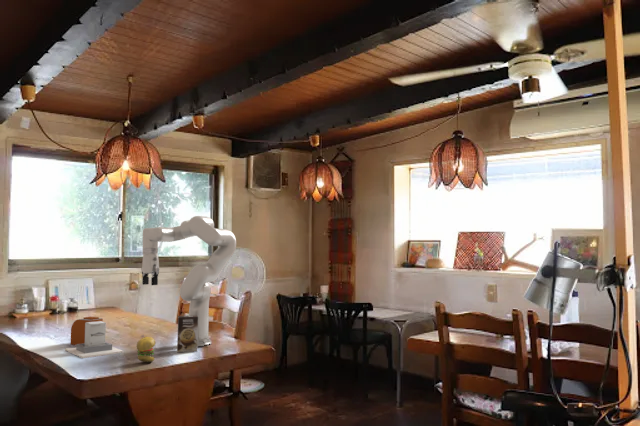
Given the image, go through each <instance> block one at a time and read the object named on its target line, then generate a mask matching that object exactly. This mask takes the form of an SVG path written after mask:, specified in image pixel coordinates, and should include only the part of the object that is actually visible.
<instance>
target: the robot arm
mask: <svg viewBox="0 0 640 426" xmlns="http://www.w3.org/2000/svg"><path fill="white" fill-rule="evenodd" d="M192 237H197V238H199V239H200V240H201V241H202V242H204V243H206V244H207V245H209V246H212V247H217V248H216V249H215V250H214V251H213V252H212V253H211V255H210V257H209V258H208V260H207V261H206V262H202V263H198V264H195V265H194V266H193V267H192V269H190V270H189V273H188V274H187V276H186V277H185V279H184V280H183V281H182V284H181V285H180V287H179V297H180V298H181V299H182V300H183V301H185V302H190V303H189V308H188V310H189V311H188V316H194V315H197V316H198V342H197V347H205V346H204V345H207V346H210V345H211V344H212V340H211V338H210V337H209V315H210V314H209V313H210V311H209V310H210V309H209V307H210V298H211V292H212V289H211V285H210V284H209V283H213V282H215V281H216V280H217V279H218V277H220V274H221V273H222V272H223V270H224V268H225V267H226V265H227V264H228V263H229V261H230V260H231V258H232V256H233V255H234V253H235V251H236V248H237V239H236V235H235V234H234V233H233V232H232V231H231V230H229V229H226V228H216V227H215V222H214V220H213V218H211V217H208V216H202V215H195V216H193V217H191V218H190V219H188V220H184V221H182V222H181V223H180V225H178V226H177V225H176V226H172V227H165V226H164V227H163V226H158V227H157V226H156V227H145V228H143V229H142V263H141V264H142V267H141V269H140V270H141V277H142V278H141V279H142V282H141V283H142V285H143V286H144V285H149V283H150V281H151V286H158V285H159V284H158V283H159V281H158V279H159V274H160V273H159V272H160V262H159V261H160V259H159V254H158V252H159V251H158V249H159V246H158V245H159V243H161V242H162V243H166V242H167V243H169V242H170V243H171V242H176V241H181V240H185V239H187V238H192ZM149 274H150V275H151V280H149V279H150V278H149ZM209 344H210V345H209Z"/></svg>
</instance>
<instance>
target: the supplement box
mask: <svg viewBox="0 0 640 426" xmlns="http://www.w3.org/2000/svg"><path fill="white" fill-rule="evenodd" d="M106 330H107V322H106V321H103V322H102V321H97V322H86V323H85V347H92V346H100V345H105V342H106V335H107V334H106V333H107V332H106Z"/></svg>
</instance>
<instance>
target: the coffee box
mask: <svg viewBox="0 0 640 426" xmlns="http://www.w3.org/2000/svg"><path fill="white" fill-rule="evenodd" d="M197 342H198V316H197V315H194V316H189V315H177V340H176V343H177V344H176V352H177V353H195V352H194V351H197V352H198V346H197Z"/></svg>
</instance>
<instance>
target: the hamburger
mask: <svg viewBox="0 0 640 426" xmlns="http://www.w3.org/2000/svg"><path fill="white" fill-rule="evenodd" d="M140 337H142V338H140V339H139V340H138V341H137V343H136V349H137V351H136V352H137V360H138V361H140V362H143V363H152V362H154V361H155V357H154V355H155V353H154V352H155V349H154V347H155V345H156V343H157V342H156V340H155V338H153V337H152V336H145V337H144V334H142V335H140Z"/></svg>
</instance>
